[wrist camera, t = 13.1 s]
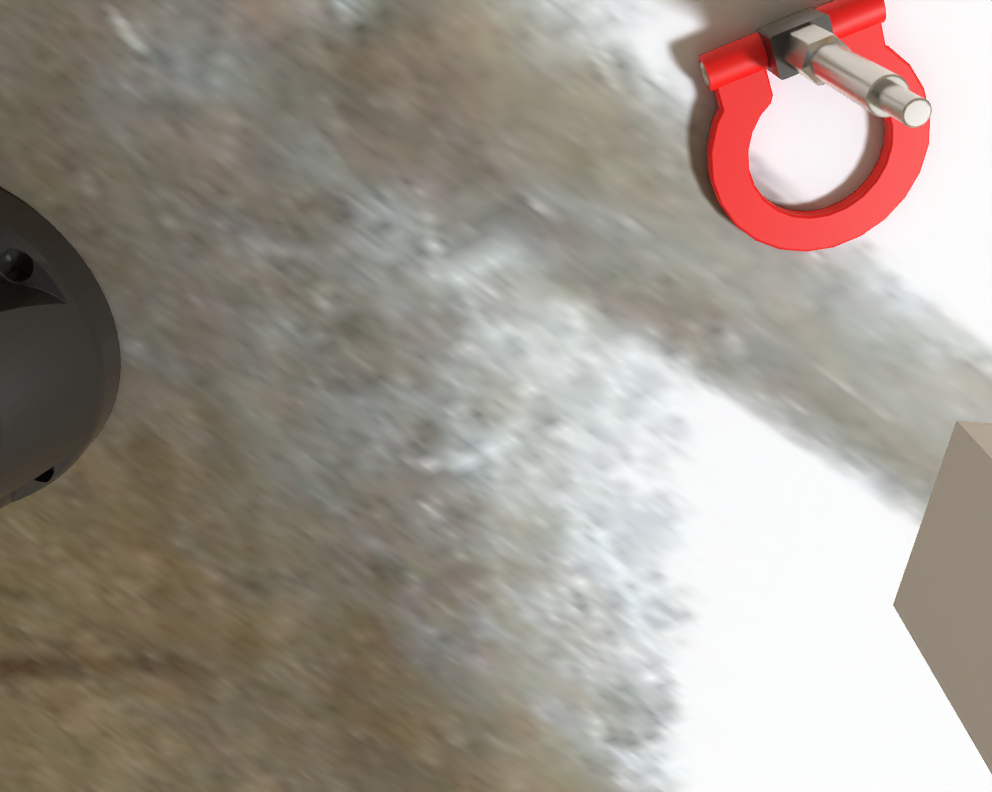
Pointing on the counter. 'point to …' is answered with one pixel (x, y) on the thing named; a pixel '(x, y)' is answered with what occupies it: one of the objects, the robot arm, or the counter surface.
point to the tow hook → (823, 60)
